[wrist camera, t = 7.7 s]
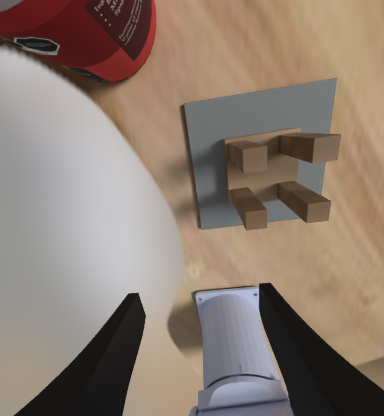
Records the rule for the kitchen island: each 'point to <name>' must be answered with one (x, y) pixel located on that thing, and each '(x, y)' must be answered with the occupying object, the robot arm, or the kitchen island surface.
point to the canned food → (83, 33)
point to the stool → (276, 173)
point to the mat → (246, 125)
